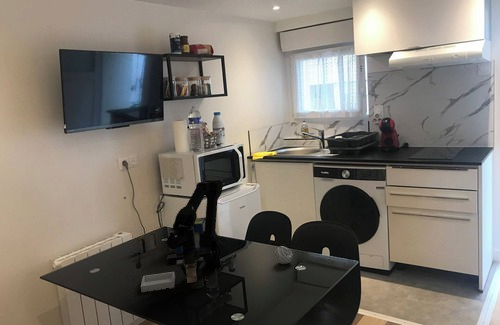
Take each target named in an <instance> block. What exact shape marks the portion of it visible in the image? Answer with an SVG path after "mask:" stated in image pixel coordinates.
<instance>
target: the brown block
mask: <svg viewBox="0 0 500 325" xmlns="http://www.w3.org/2000/svg"><path fill="white" fill-rule="evenodd" d="M185 267H186V274H187V278H186V281H187V284H188V283H189V284H190V283H197V282H198V276H197V275H196V263H195V264H188V265H185Z"/></svg>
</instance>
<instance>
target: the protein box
mask: <svg viewBox="0 0 500 325" xmlns="http://www.w3.org/2000/svg"><path fill="white" fill-rule="evenodd" d="M205 218H206V217H197V218H196V220H195V223H194V225H195V226H196V228H195V229H194V237H195V247H196V251H198V250H199V253H202V252H201V249H200V246H199V239H200V234H202V233H203V232H204V230H205ZM173 225H174V223H173V224H172V226H173ZM179 226H180V225H179ZM182 227H186V226H182ZM174 231H175V230H172V232H174ZM174 250H175V254H181V255H182V246H180V247H178V248H177V249H174Z"/></svg>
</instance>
